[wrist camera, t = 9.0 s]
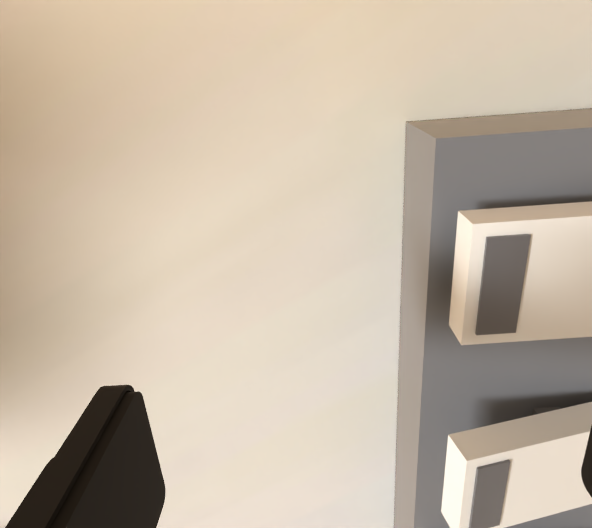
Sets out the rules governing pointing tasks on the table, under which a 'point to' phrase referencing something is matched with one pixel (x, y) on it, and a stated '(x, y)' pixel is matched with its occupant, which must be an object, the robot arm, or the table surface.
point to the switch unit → (438, 286)
